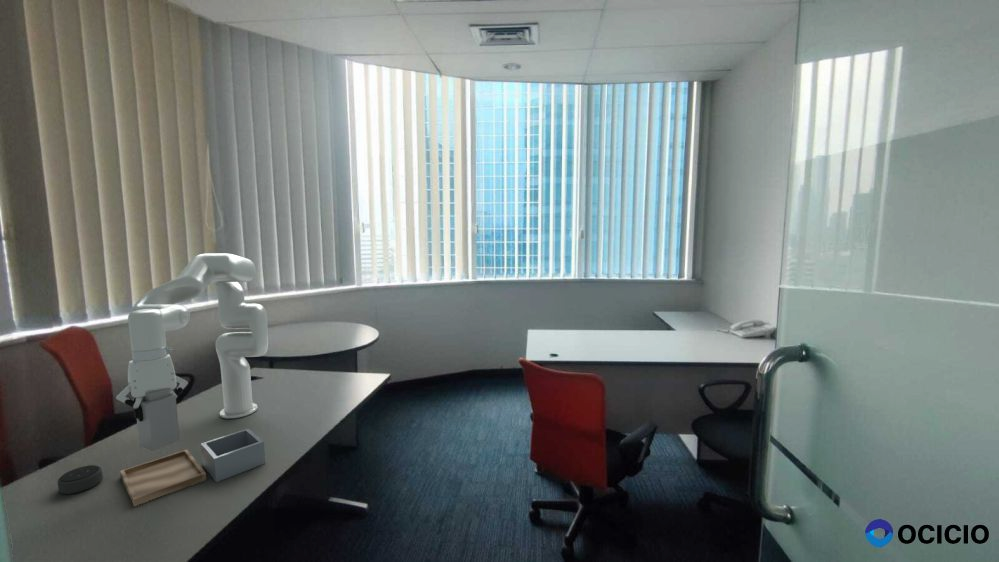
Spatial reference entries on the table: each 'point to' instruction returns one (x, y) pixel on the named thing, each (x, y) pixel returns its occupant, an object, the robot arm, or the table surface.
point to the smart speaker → (80, 479)
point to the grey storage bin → (232, 454)
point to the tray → (161, 476)
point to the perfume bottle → (158, 420)
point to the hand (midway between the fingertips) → (156, 415)
